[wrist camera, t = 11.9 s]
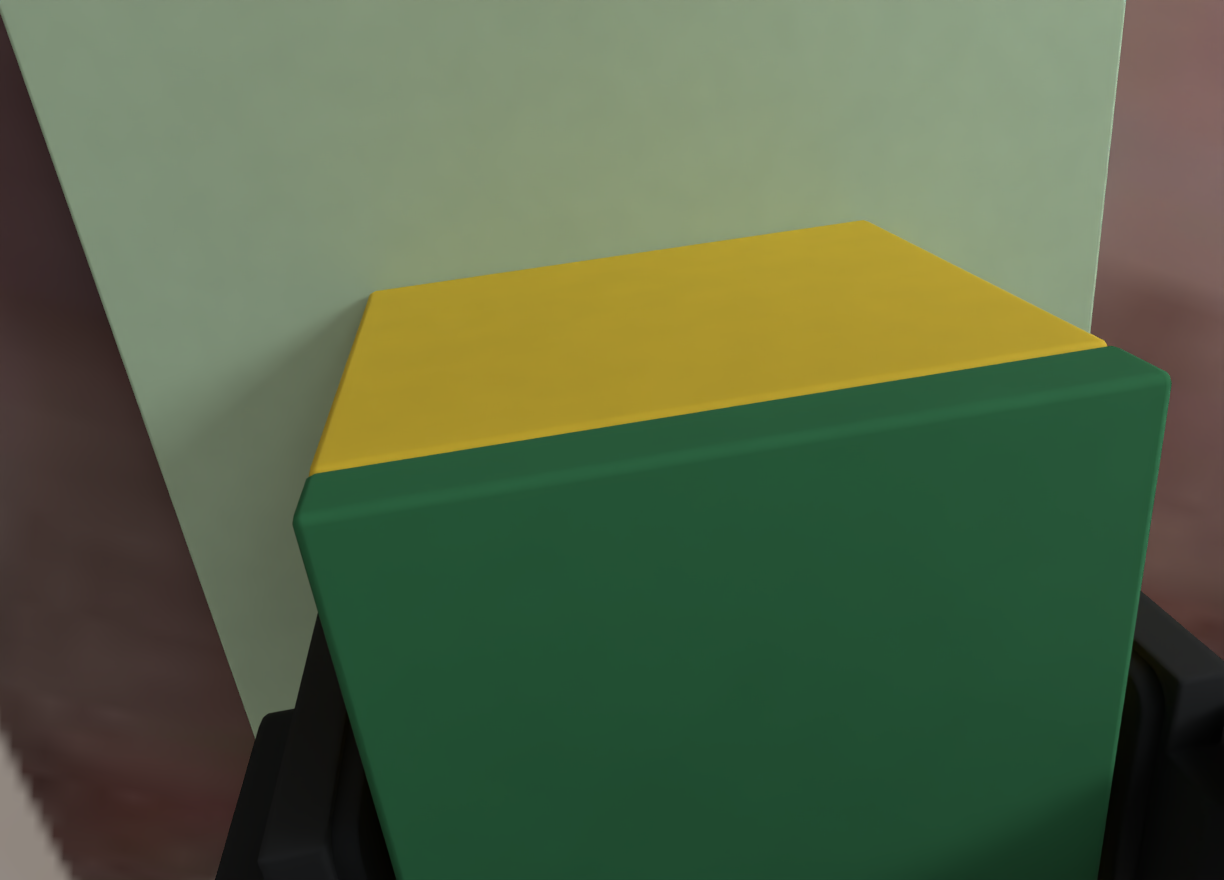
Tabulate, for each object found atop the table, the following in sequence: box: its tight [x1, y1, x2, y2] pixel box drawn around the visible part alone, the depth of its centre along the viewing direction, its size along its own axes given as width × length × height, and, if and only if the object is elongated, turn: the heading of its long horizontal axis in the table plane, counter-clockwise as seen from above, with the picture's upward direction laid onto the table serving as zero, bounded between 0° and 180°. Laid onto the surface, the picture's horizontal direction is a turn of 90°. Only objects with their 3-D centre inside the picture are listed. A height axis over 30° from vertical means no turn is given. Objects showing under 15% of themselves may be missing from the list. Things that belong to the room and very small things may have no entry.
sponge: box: [292, 220, 1172, 880], centre depth 11 cm, size 9×6×6 cm, turn 6°
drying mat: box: [0, 0, 1126, 739], centre depth 13 cm, size 20×12×1 cm, turn 6°
